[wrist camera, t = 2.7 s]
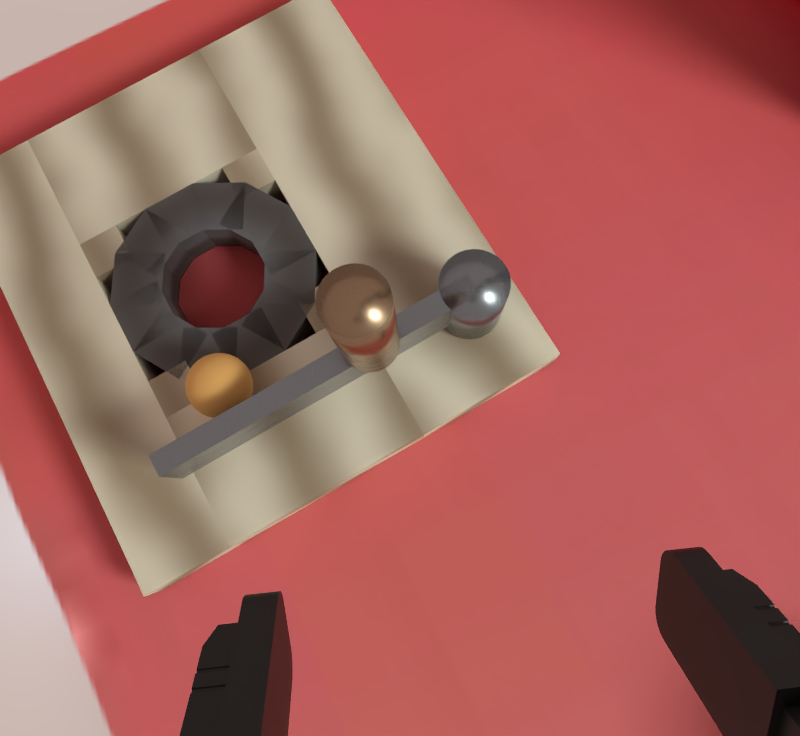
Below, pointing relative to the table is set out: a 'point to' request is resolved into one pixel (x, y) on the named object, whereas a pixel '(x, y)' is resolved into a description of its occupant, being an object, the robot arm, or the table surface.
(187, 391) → the ball
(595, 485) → the table surface
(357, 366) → the catapult lever
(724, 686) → the robot arm
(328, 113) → the board
